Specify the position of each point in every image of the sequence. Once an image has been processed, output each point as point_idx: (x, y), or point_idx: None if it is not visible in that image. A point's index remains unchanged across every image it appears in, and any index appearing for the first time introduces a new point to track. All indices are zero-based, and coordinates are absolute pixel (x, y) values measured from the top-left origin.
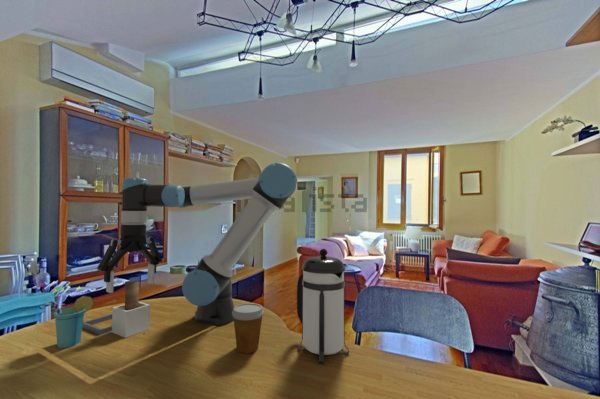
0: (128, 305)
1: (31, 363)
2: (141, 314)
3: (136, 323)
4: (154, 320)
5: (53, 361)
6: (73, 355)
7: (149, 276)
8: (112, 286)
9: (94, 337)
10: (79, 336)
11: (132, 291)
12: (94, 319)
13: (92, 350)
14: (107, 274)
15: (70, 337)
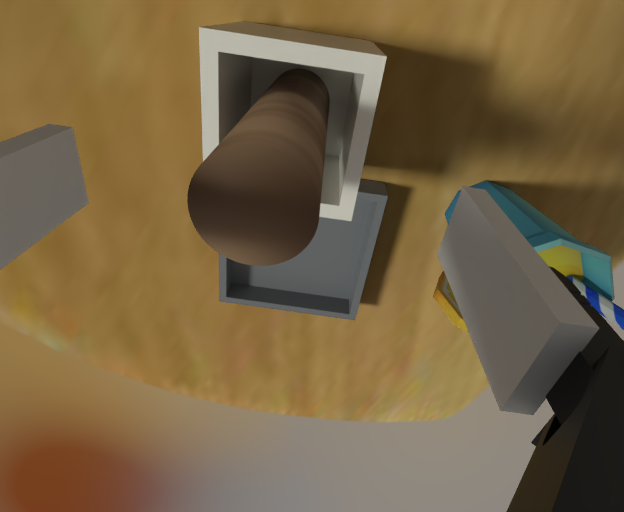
0: (321, 124)
1: (612, 201)
2: (277, 35)
3: (313, 36)
4: (146, 133)
5: (595, 145)
6: (541, 124)
7: (36, 202)
8: (492, 212)
9: (386, 207)
10: None
11: (298, 131)
12: (315, 310)
13: (488, 94)
14: (601, 332)
15: (523, 203)
